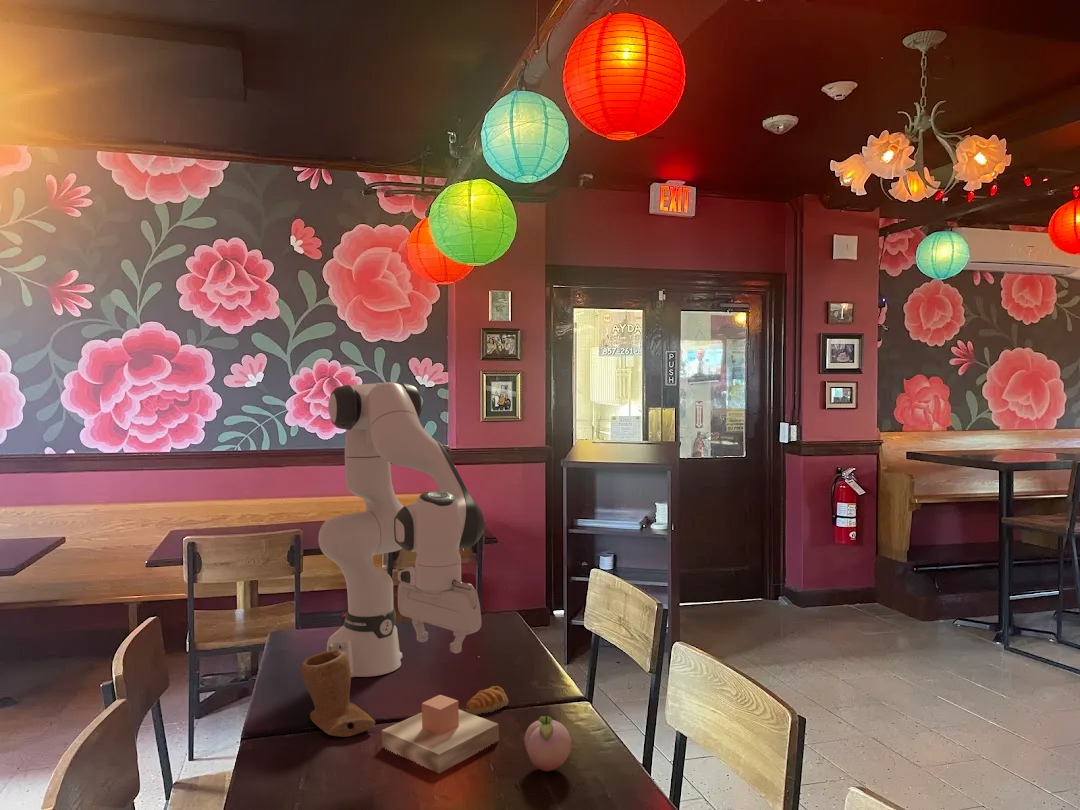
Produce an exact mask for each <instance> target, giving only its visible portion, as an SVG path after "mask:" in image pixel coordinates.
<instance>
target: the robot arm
mask: <svg viewBox="0 0 1080 810" xmlns="http://www.w3.org/2000/svg"><path fill="white" fill-rule="evenodd" d="M422 407H423V405H422V397H421V394H420V391H419V390H418V389H417V387H416V386H414V385H412V384H408V383H402V382H400V383H397V382H394V381H393V382H392V381H391V382H390V381H388V382H374V383H363V384H355V385H350V384H345V385H341V386H338V387H335V388H334V389H333V390H332V392H331V393H330V396H329V400H328V404H327V408H328V409H327V411H328V414H329V418H330V420H331V422H332V424H333V425H334V427H336V429H337V428H338V429H342V430H346V431H345V437H344V439H345V441H344V473H345V475H344V478H345V480H344V482H345V483H344V484H345V487H346V488H347V490H348V491H349V492H350V494H352V495H354V496H356V497H359V498H360V499H362V500H363V502H364V504H365V507H366V508H365V509H366V510H365V511H361V512H353V513H346V514H344V513H343V514H341V515H337V516H335V517H332V518H329V519H327V520H325V521H324V522H323V523H322V525H321V527H320V529H319V532H318V539H317V541H318V546H319V548H320V551H321V552H322V554H324V556H325V557H326V558H328V560H331V561H332V562H334V564H336V565H337V566H338V567H339V570H341V572H342V575H343V576H344V579H345V584H346V591H347V610H346V611H344V612H341V614H343V615H341V618H344V621H343V625H342V626H341V627H340V628H339V629H338V630H336V631H335V632H334V633H333V634H331V636H330V637H329V638H328V640H327V644H326V651H331V650H337V651H340V652H345V653H346V655H347V656H348V659H349V665H350V671H351V678H355V677H356V678H357V677H360V678H361V677H363V678H364V677H365V678H368V677H369V678H370V677H377V676H382V675H386V674H390V673H392V672H394V671H396V670H398V669H399V668H400V667H401V665H402V662H401V659H403V652H401V651H400V643H399V636H398V628H397V626H396V625H395V624H396V616H397V615H396V609H395V607H394V581H393V579H392V577H391V576H390V574H389V573H388V572H386V571H385V570H382V569H380V568H378V567H376V566H375V565H374V564H375V563H374V556H375V555H382V554H387V553H394V552H398V551H400V550H402V549H403V550H405V551H406V552H414V553H416V558H415V560H414V561H415V564H414V565H413V566H411V567H407V568H404V569H401V570H399V571H398V572H397V579H398V581H399V584H398V587H397V609H398V611H399V613H400V615H401V616H403V617H407V618H409V619H411V621H412V622H411V623H412V626H413V629H414V630H415V633H416V641H417V642H420V643H425V642H428V641H429V632H428V631H426V628H425V625H424V623H426V624H429V625H433V626H437V627H440V628H443V629H445V630H449V631H452V632H453V637H455V638H454V639H453V641H452V642H449V651H450V653H454V654H456V655H457V654H459V653H461V652H462V651H463V646H462V645H463V641H464V640H465V638H466V636H468V635H471V634H474V633H477V632H478V631H479V630H480V629H481V627H482V614H481V604H480V601H479V600H480V599H479V593H478V591H477V590H476V588H474V586H473V584H472V583H469V582H464V581H462V556H461V554H460V549H470V548H473V546H474V545H475V544H476V543H477V542H478V541H479V540H480V539H481V538H482V536H483V534H484V531H485V524H486V523H485V518H484V515H483V511H482V510H481V508H480V507H479V505H478V504H477V502H476V501H475V500H474V498H473V497H472V495H471V494H470V492H469V491H468V489H467V487H466V485H465V483H464V481H463V480H462V477H461V475H460V474H459V471H458V469H457V468H456V466H455V464H454V462H453V460H452V459H451V456H450V455H449V453H448V452H447V450H446V448H445V446H444V445H443V444H442V442H440V441H439V440H436V439H434V437H432V436H431V435H430V434H429V432H427V431H426V430H425V428H424V426H423V425H422V424H421V422H420V417H421V415H422ZM391 464H393V465H395V466H399V467H405V468H409V469H413V470H417V471H419V472H422V473H425V474H426V475H429V476H430V477H431V478H432V479H433V480H434V482H435V483H436V486H437V487H438V490H430V491H426V492H423V493H421V494H419V496H418V497H417V500H416V502H414V503H411V504H408V505H405V506H404V505H403V504H402V503H401V502H400V501H399V499H398V497H397V495H396V493H395V490H394V487H393V482H392V481H393V480H392V465H391Z"/></svg>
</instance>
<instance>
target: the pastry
mask: <svg viewBox="0 0 1080 810" xmlns="http://www.w3.org/2000/svg"><path fill="white" fill-rule="evenodd" d="M508 704H509V699H508V697H507V694H506V693H505V690H504V689H503V688H502V687H500V686H499V685H495V686H494V685H492V686H490V687H489V688H485V689H483V690H479V691H477V692H476V694H474V696H472V697H471V698H470V699H469V700H468V701H467V702H466V705H465V708H466V709H465V712H467V713H470V714H473V715H476V716H479V715H478V714H480V715H482V714H481V713H483V714H488V712H490V713H493V712H495V710H496V711H498V710H501V709H503V708H502V707H504V706H505V707H507V705H508ZM505 707H504V708H505ZM500 708H501V709H500ZM497 709H498V710H497Z"/></svg>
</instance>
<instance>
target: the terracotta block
mask: <svg viewBox="0 0 1080 810" xmlns="http://www.w3.org/2000/svg"><path fill="white" fill-rule="evenodd" d="M459 710H460V709H459V700H457V699H455V698H451V697H448V696H447V695H442V694H438V695H436V696H433V697H432V698H430V699H427V700H426V701H423V702H422V703H421V713H422V728H423V729H425V730H428V731H430V732H433V733H435V734H438V735H440V736H441V735H443V734H444V733H446V732H448V731H450V730H452V729H454V728H456V727H458V726H459Z"/></svg>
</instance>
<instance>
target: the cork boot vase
mask: <svg viewBox="0 0 1080 810" xmlns="http://www.w3.org/2000/svg"><path fill="white" fill-rule="evenodd" d="M300 668H301V675H302V680H303V683H304V685H305V687H306V690H307V692H308V693H309V695H310V698H311V701H312V702H313V706H314V710H313V709H312V711H311V712H310V714H309V715H310V716H309V718H310V720H311V722H312V723H314V725H315V726H316V727H318V728H319V729H320V730H321V731H322V732H324V733H325V734H327V735H328V736H332V737H333V736H334V737H342V738H343V737H345V738H348V737H353V736H357V735H358V734H361V733H364V732H366V731H367V730H369V729H371V728H373V727H374V726H375V724H376V721H375V720H374V719H373V717H371V716H370V714H368V713H366V712H365V711H364V710H362V709H361V707H359V706H358V705H356V704H355V703H353V702H351V701H350V693H351V692H350V690H351V682H352V681H351V680H352V677H351V671H350V665H349V659H348V656H347V655H346V653H345V652H340V651H337V650H331V651H327V650H326V651H322V652H319V653H316V654H313V655H311V656H308V657H307V658H305V659H304V661H302V664H301V667H300Z"/></svg>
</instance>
